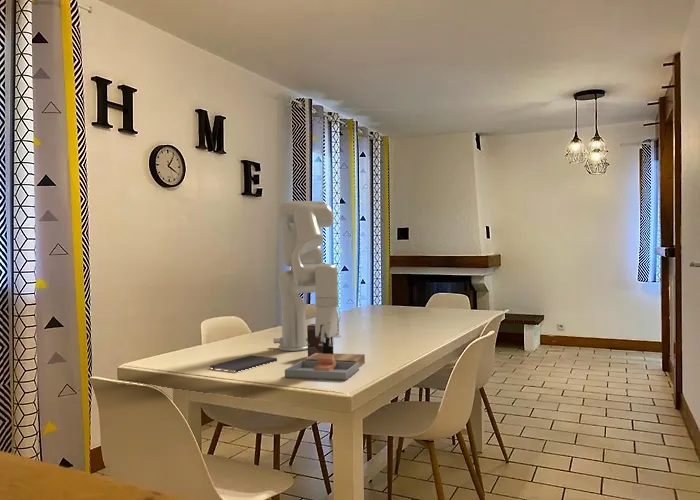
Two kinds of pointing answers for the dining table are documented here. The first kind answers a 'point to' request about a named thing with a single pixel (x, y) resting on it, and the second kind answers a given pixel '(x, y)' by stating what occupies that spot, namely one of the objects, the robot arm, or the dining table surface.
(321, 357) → the tile
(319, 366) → the tile
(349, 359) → the brown slab
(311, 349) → the box
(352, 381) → the dining table surface
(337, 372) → the tray
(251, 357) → the notebook
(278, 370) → the dining table surface
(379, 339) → the dining table surface
